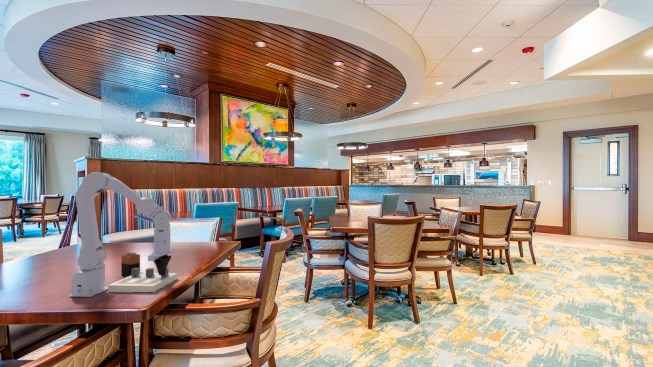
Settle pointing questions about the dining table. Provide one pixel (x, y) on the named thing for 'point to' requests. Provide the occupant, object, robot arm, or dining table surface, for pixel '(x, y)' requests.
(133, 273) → the block
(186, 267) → the dining table surface
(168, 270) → the block
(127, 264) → the battery
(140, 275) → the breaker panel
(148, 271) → the block
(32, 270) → the dining table surface
